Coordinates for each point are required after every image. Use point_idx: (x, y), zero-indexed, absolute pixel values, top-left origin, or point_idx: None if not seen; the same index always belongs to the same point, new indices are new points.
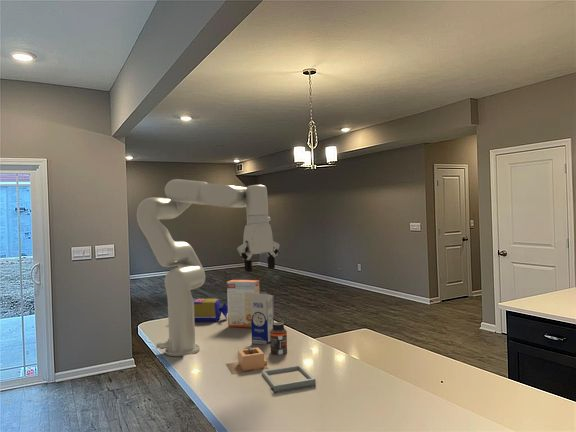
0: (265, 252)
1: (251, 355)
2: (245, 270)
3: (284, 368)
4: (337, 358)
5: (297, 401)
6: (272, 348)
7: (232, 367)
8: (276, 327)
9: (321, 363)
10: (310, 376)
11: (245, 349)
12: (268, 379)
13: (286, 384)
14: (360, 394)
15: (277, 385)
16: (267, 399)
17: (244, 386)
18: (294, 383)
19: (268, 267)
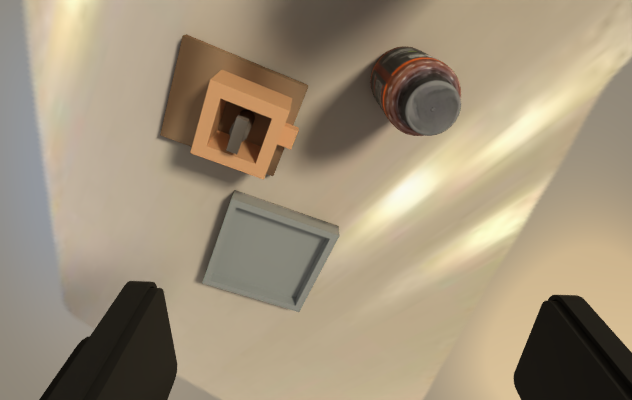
0: None
1: (220, 163)
2: (127, 288)
3: (291, 225)
4: (483, 229)
5: (222, 320)
6: (374, 84)
7: (187, 87)
8: (405, 119)
9: (422, 225)
10: (301, 297)
11: (236, 95)
12: (214, 248)
13: (231, 291)
14: (332, 365)
15: (210, 285)
16: (178, 282)
17: (167, 203)
18: (250, 296)
19: (545, 314)
